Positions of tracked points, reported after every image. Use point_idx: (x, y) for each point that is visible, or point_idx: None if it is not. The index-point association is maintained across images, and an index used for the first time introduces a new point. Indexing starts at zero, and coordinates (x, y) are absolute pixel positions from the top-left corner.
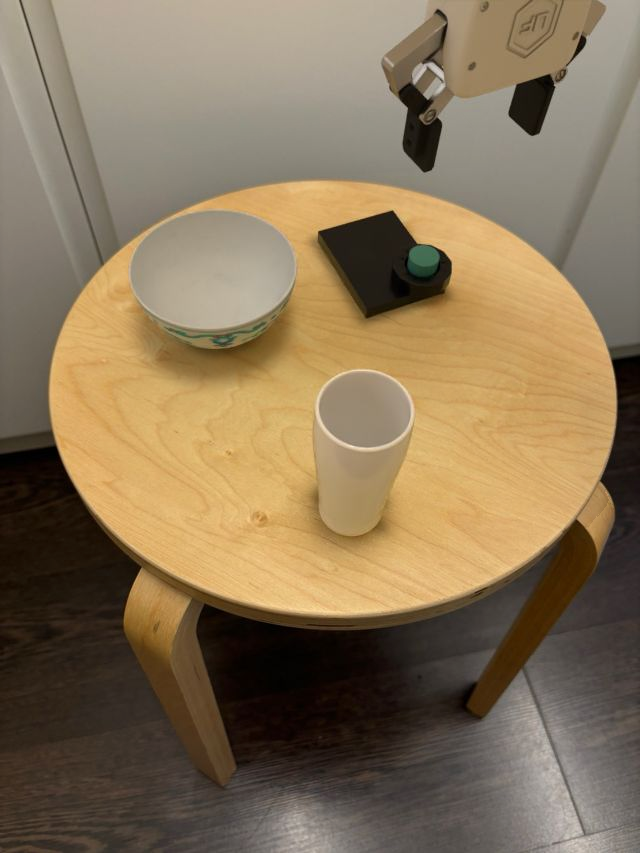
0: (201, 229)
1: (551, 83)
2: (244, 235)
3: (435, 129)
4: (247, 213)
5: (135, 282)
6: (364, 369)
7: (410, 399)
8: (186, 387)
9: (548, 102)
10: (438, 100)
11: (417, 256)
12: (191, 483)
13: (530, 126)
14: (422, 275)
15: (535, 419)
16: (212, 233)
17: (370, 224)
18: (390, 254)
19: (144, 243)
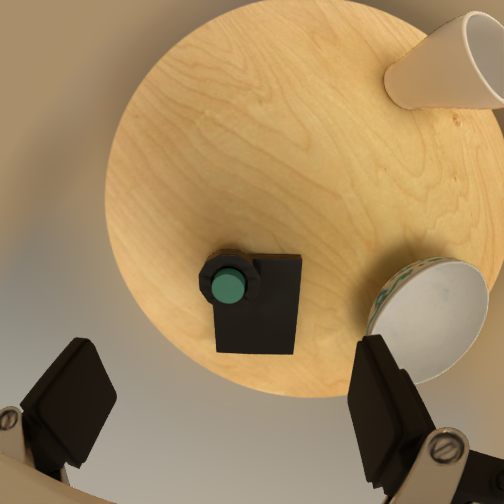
0: None
1: (27, 415)
2: None
3: (419, 416)
4: None
5: (470, 332)
6: (493, 90)
7: (465, 30)
8: (452, 247)
9: (41, 382)
10: (445, 488)
11: (235, 291)
12: (478, 170)
13: (87, 357)
14: (236, 270)
15: (210, 85)
16: None
17: (244, 346)
18: (245, 310)
19: (450, 363)
